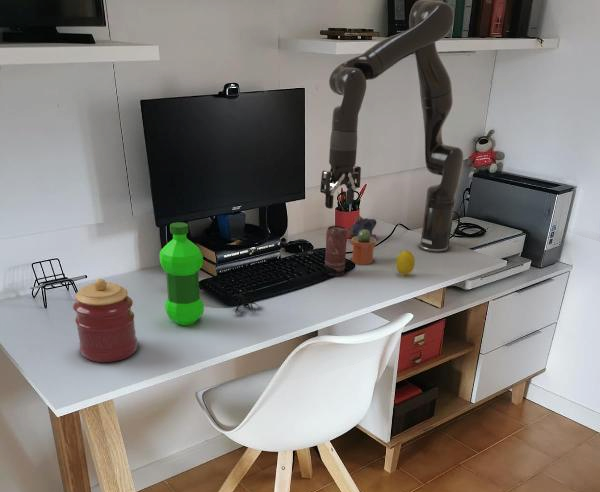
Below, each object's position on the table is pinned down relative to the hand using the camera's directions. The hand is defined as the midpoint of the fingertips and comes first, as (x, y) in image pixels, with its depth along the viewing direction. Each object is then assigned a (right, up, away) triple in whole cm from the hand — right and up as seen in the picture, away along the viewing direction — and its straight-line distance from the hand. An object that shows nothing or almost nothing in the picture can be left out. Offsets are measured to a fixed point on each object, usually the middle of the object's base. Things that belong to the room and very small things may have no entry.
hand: (339, 205), depth 190 cm
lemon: (+20, -18, +11) cm, 30 cm away
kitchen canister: (-56, -45, -37) cm, 81 cm away
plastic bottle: (-41, -36, -22) cm, 59 cm away
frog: (+11, 0, +40) cm, 42 cm away
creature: (-26, -33, -15) cm, 45 cm away
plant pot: (+9, -12, +21) cm, 25 cm away
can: (-1, -18, +11) cm, 21 cm away
